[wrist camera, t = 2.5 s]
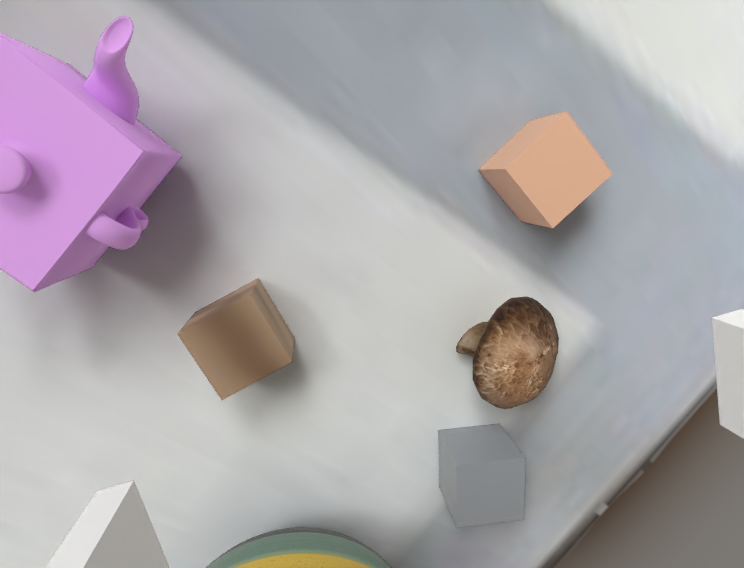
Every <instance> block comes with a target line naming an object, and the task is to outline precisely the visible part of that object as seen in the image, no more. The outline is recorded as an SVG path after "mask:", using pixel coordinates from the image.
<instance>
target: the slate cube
mask: <svg viewBox="0 0 744 568" xmlns="http://www.w3.org/2000/svg"><path fill="white" fill-rule="evenodd" d="M438 443H439V487H440V489H441V492H442V494H443V496H444V499H445V501H446V504H447V506H448V508H449V511H450V513H451V515H452V518H453V520H454V523H455V525H456V527H457V528H463V527H470V526H478V525H486V524H494V523H501V522H509V521H517V520H524V498H525V460H526V458H525V456H524V455H523V454H522V452H521V451H520V450H519V449H518V447H517V446H516V445H515V443H514V442H513V441H512V439H511V438H510V437H509V435H508V434H507V433H506V432H505V430H504V429H503V428H502V426H501V425H500V424H491V425H481V426H472V427H463V428H453V429H444V430H438Z"/></svg>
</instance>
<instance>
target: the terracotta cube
mask: <svg viewBox="0 0 744 568" xmlns="http://www.w3.org/2000/svg"><path fill="white" fill-rule="evenodd" d="M478 170H479V171H480V172H481V174H482V175H483V176H484V177H485V178H486V180H487V181H488V182H489V183H490V184H491V186H492V187H493V188H494V189H495V191H496V192H497V193H498V194H499V195H500V197H501V198H502V199H503V200H504V202H505V203H506V204H507V205H508V206H509V208H510V209H511V210H512V211H513V213H514V214H515V215H516V216H517V217H518V219H519V220H520V221H522V222H526V223H531V224H535V225H540V226H544V227H549V228H554V227H555V226H556V225H557V224H558V223H559V222H561V221H562V220H563V219H564V218H565V217H566V216H567V215H568V214H569V213H570V212H571V211H573V210H574V209H575V208H576V207H577V206H578V205H579V204H580V203H581V202H582V201H583V200H585V199H586V198H587V197H588V196H589V195H590V194H591V193H592V192H593V191H594V190H595V189H597V188H598V187H599V186H600V185H601V184H602V183H603V182H604V181H605V180H606V179H607V178H609V177H610V176H611V175H612V174H613V173H612V172H611V171H610V169H609V168H608V166H607V165H606V164H605V162H604V161H603V160H602V158H601V157H600V156H599V154H598V153H597V152H596V150H595V149H594V147H593V146H592V145H591V143H590V142H589V141H588V139H587V138H586V137H585V135H584V134H583V132H582V131H581V130H580V128H579V127H578V126H577V124H576V123H575V122H574V120H573V119H572V118H571V116H570V115H569V113H568V112H567V111H566V112H562V113H557V114H553V115H549V116H545V117H541V118H537V119H533V120H531V121H530V122H528V123H527V124H526V125H525V126H524V127H523V128H522V129H521V130H520V131H519V132H518V133H517V134H516V135H515V136H514V137H512V138H511V139H510V140H509V141H508V142H507V143H506V144H505V145H504V146H503V147H502V148H501V149H500V150H499V151H497V152H496V153H495V154H494V155H493V156H492V157H491V158H490V159H489V160H488V161H487V162H486V163H485V164H484V165H483V166H481V167H480V168H479V169H478Z"/></svg>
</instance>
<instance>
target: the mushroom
mask: <svg viewBox="0 0 744 568" xmlns="http://www.w3.org/2000/svg"><path fill="white" fill-rule="evenodd" d="M558 340H559V338H558V334H557V330H556V326H555V323H554V319H553V317H552V315H551V314H550V312H549V311H548V310H547V309H545V308H544V307H543V306H542V305H541V304H540V303H539V302H538V301H536V300H534V299H533V298H529V297H518V298H511V299H509V300H507V301H506V302H505V303H504V304H502V305H501V306H500V307H499V308H497V310H496V311H495V313H494V314H493V315H492V317H491V318H490V320H489V321H488V322H482V323H479V324H477V325H475V326H474V327H472V328H471V329H469V330H468V331H467V332H466V333H465V334H464V335H463V337H462V338H461V339H460V341H459V342H458V344H457V347H456V351H457V352H458V353H462V354H468V355H470V356H473V381H474V383H475V386H476V388H477V390H478V392H479V394H480V396H481V398H482V399H484V400H486V401H487V402H489V403H491V404H492V405H494V406H496V407H499V408H503V409H507V408H513V407H516V406H518V405H521V404H524V403H527V402H529V401H531V400H533V399H534V398H535V397H536V396H538V395H539V394H540V392H541V391H542V390H543V389H544V388H545V387H546V385H547V383H548V381H549V379H550V377H551V375H552V372H553V368H554V364H555V360H556V356H557V353H558Z"/></svg>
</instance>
